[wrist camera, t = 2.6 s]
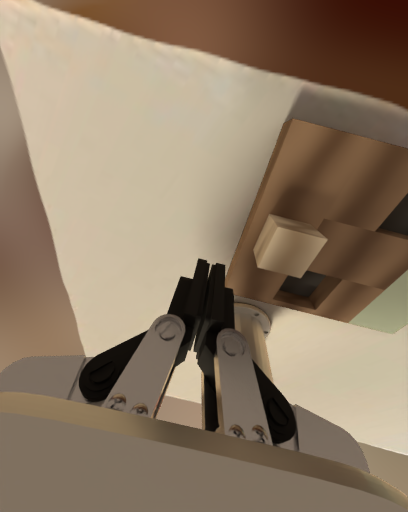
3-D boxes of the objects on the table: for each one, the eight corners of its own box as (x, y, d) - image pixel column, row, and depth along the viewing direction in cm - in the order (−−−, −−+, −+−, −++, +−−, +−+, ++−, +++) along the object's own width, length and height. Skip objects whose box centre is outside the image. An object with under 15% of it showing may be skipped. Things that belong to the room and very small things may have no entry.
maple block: (310, 224, 20) (327, 239, 16) (289, 259, 22) (300, 278, 19) (269, 213, 19) (277, 226, 16) (253, 249, 22) (257, 267, 19)
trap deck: (471, 172, 18) (512, 176, 15) (337, 308, 29) (348, 323, 27) (283, 123, 17) (293, 118, 15) (224, 280, 29) (224, 292, 27)
